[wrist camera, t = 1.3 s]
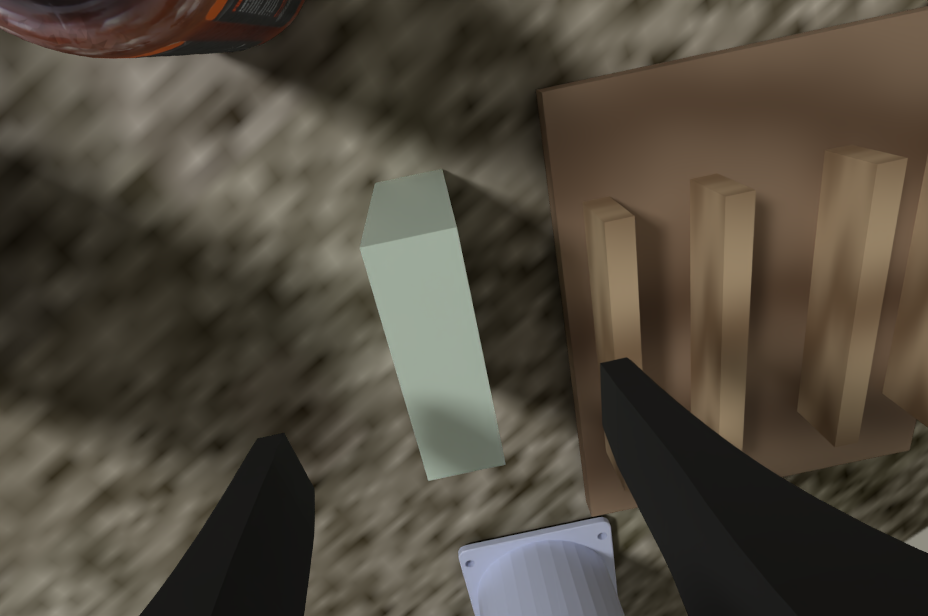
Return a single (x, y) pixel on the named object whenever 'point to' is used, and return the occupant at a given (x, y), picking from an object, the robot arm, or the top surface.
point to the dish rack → (751, 242)
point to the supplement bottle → (146, 25)
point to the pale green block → (431, 323)
